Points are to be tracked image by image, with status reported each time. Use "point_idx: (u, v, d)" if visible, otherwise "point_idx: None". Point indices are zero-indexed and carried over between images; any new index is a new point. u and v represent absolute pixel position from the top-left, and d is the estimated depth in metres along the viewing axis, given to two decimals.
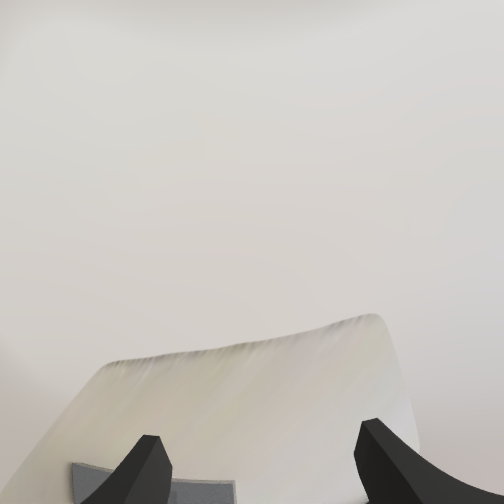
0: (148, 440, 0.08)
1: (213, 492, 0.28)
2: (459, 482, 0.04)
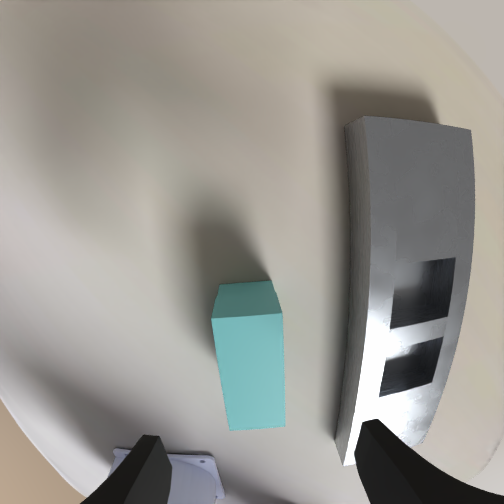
0: (148, 440, 0.08)
1: (417, 428, 0.17)
2: (459, 482, 0.04)
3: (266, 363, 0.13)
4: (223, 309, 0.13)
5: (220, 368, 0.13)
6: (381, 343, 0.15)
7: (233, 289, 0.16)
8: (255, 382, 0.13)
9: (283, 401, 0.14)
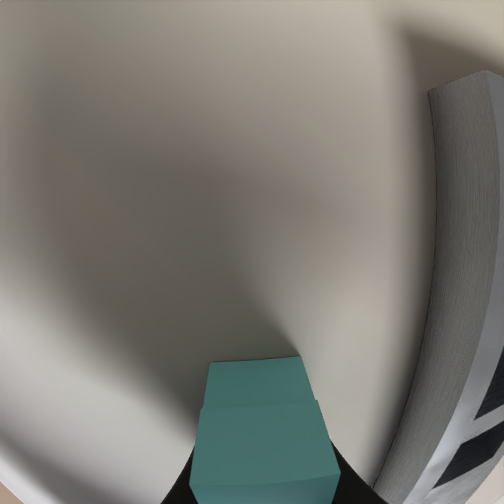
0: None
1: (461, 499, 0.10)
2: None
3: None
4: (215, 454, 0.05)
5: None
6: (458, 438, 0.07)
7: (233, 381, 0.08)
8: None
9: None
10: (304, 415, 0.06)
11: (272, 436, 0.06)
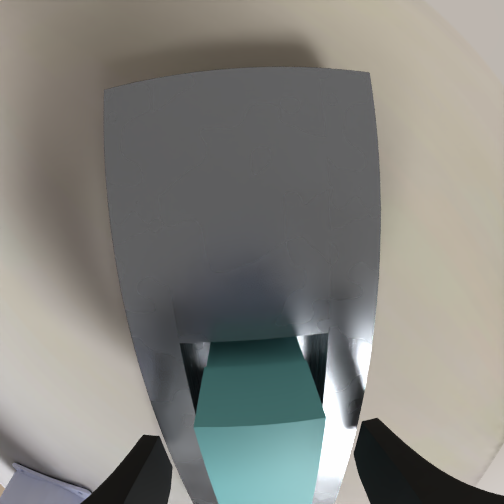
0: (148, 440, 0.08)
1: None
2: (459, 482, 0.04)
3: (288, 477, 0.06)
4: (216, 402, 0.07)
5: (213, 482, 0.06)
6: (192, 442, 0.09)
7: (233, 347, 0.10)
8: (269, 495, 0.07)
9: None
10: (295, 372, 0.08)
11: (266, 388, 0.07)
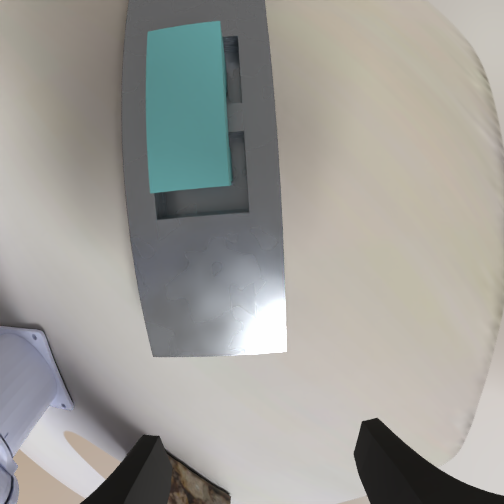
0: (148, 440, 0.08)
1: (258, 311, 0.15)
2: (459, 482, 0.04)
3: (200, 73, 0.10)
4: None
5: (147, 84, 0.10)
6: (142, 131, 0.13)
7: None
8: (186, 100, 0.10)
9: (223, 133, 0.10)
10: None
11: None
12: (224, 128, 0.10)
